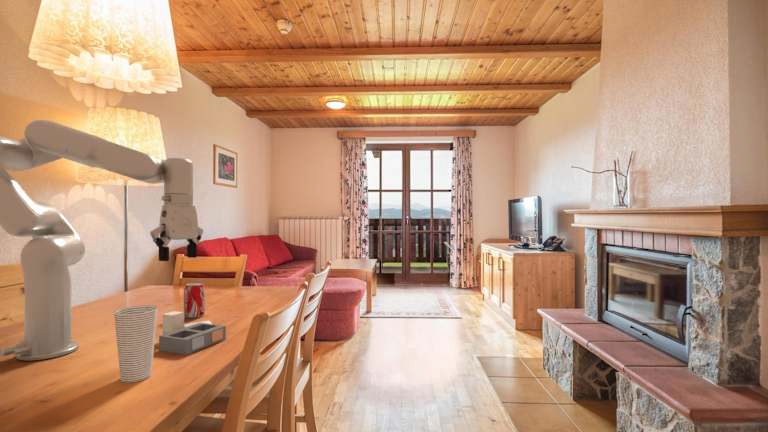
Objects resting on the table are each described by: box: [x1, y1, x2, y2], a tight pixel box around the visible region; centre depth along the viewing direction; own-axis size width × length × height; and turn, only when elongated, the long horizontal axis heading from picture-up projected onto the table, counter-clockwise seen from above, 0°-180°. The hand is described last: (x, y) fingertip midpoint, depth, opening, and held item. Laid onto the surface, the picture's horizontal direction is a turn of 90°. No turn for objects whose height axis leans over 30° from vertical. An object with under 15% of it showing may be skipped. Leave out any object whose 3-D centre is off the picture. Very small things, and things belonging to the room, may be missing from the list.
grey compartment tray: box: [158, 323, 227, 356], centre depth 111 cm, size 14×10×4 cm
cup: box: [113, 305, 159, 383], centre depth 88 cm, size 8×8×16 cm
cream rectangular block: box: [162, 310, 185, 335], centre depth 115 cm, size 4×4×8 cm
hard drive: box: [184, 320, 213, 328], centre depth 126 cm, size 2×8×12 cm
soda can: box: [183, 282, 206, 319], centre depth 142 cm, size 7×7×12 cm
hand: (178, 259), depth 113 cm, fingers open, 9 cm apart
